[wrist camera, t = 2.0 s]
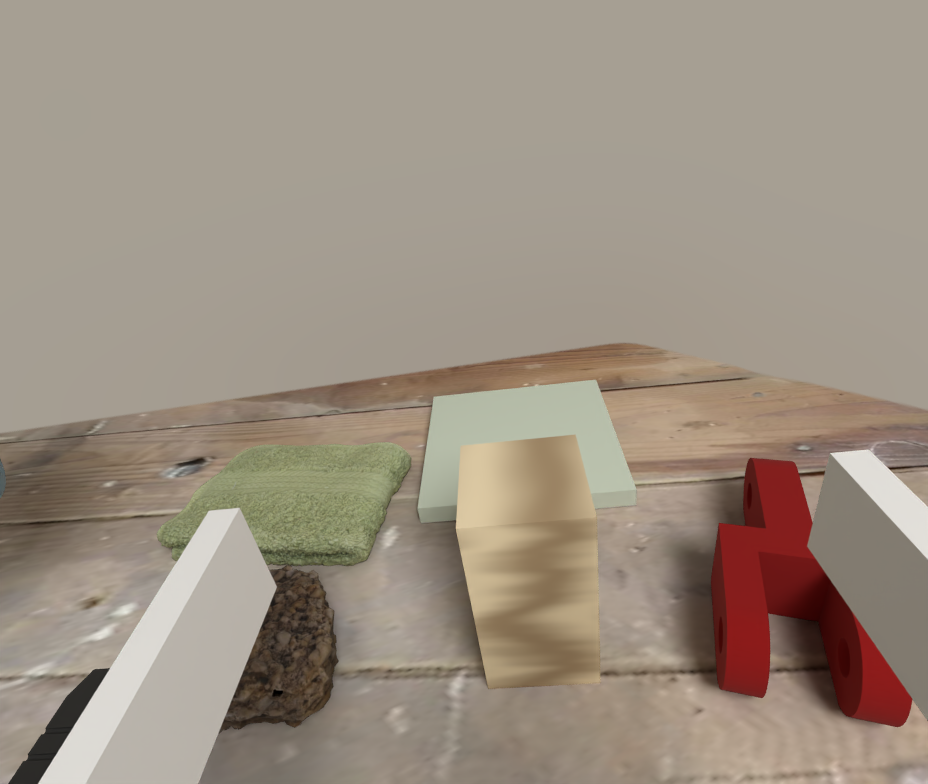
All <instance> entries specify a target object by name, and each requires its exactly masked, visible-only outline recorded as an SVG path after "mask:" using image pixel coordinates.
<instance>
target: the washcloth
mask: <svg viewBox="0 0 928 784" xmlns="http://www.w3.org/2000/svg"><path fill="white" fill-rule="evenodd" d="M410 467H411V457H410V455H409V454H408V453H407V452H406V451H405V450H404V449H403V448H402V447H401V446H399V445H397V444H393V443H390V442H387V443H385V442H383V443H371V444H365V445H354V446H351V445H341V444H330V445H311V446H292V445H259V446H255V447H252V448H249V449H247V450H245V451H243V452H241V453H239V454H238V455H237V456H235V457H234V458H233V459H232V460H231V461H230V462H229V463H228V465H227V466H226V467H225V468H224V469H223V470H222V471H221V472H220V473H219V474H217V475H216V476H214V477H213V478H211V479H210V480H208V481H207V482H206V483H205V484H203V485H202V486H201V487H200V488H199V489H198V490H196V491H195V493H194V494H193V496H192V498H191V500H190V502H189V503H188V504H187V506H186V507H185V508H184V509H183V510H182V511H181V512H180V513H179V514H178V515H177V516H175V517H174V518H173V519H171V520H169V521H167V522H166V523H165V524H163V525H162V526H161V527H160V529H159V530H158V532H157V538H158V540H159V541H160V542H161V544H162V545H161V546H166V547H167V548H168V547H173V548H172V558H173V559H174V560H175V561H178V559H179V558H180V556H181V555H182V553H183V551H184V550H185V548H186V547H187V545H188V543H189V542H190V540H191V539H192V537H193V535H194V534H195V532H196V531H197V529H198V527H199V526H200V524H201V523H202V521H203V519H204V518H205V516H206V515H207V513H208V511H211V510H222V509H233V508H240V510H241V512H242V514H243V516H244V518H245V520H246V522H247V524H248V527H249V529H250V531H251V533H252V535H253V537H254V539H255V541H256V544H257V546H258V548H259V550H260V552H261V554H262V556H263V559H264V561H265V563H266V565H269V564H270V563H272V564H273V565H276V564H278V565H284V564H289V565H293V566H298V565H301V566H303V565H321V564H323V565H324V566H332V565H337V564H339V565H341V564H342V565H344V566H352V565H354V564H356V563H358V562H362V561H364V560H366V559H368V556H369V553H370V551H371V548H372V546H373V544H374V541H375V538H376V533H377V532H378V531H379V528H380V526H381V524H382V523H383V521H384V520H385V515H386V514H387V513H386V508H387V506H388V504H389V502H390V500H391V496H392V495H393V494H394V493H395V492H397V491H398V488H399V487H401V484H400V483H401V482H402V479H403V478H404V476H405V475H406V474H407V473H408V472H407V471H408V470H409V469H410Z"/></svg>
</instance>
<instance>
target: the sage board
mask: <svg viewBox="0 0 928 784" xmlns="http://www.w3.org/2000/svg"><path fill="white" fill-rule="evenodd" d="M566 435H576V438H577V442H578V446H579V450H580V454H581V458H582V461H583V465H584V469H585V473H586V477H587V481H588V485H589V489H590V492H591V496H592V500H593V504H594V508H595V509H598V508H610V507H622V506H634V505H636V492H637V490H636V487H635V484H634V481H633V479H632V476H631V473H630V471H629V468H628V465H627V462H626V460H625V457H624V454H623V452H622V449H621V446H620V444H619V441H618V438H617V435H616V433H615V430H614V427H613V425H612V422H611V419H610V416H609V414H608V411H607V408H606V406H605V403H604V400H603V398H602V395H601V392H600V389H599V387H598V384H597V381H596V380H589V381H580V382H570V383H561V384H552V385H542V386H533V387H523V388H514V389H504V390H495V391H485V392H476V393H466V394H457V395H448V396H438V397H434V400H433V406H432V413H431V420H430V427H429V434H428V440H427V447H426V454H425V461H424V467H423V474H422V481H421V488H420V495H419V501H418V508H417V509H418V513H419V517H420V521H421V523H430V522H442V521H454V520H456V517H457V500H458V482H459V464H460V447H461V446H463V445H473V444H483V443H494V442H504V441H514V440H525V439H535V438H545V437H555V436H566Z"/></svg>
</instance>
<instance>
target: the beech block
mask: <svg viewBox="0 0 928 784" xmlns="http://www.w3.org/2000/svg"><path fill="white" fill-rule="evenodd" d="M456 532H457V537H458V542H459V547H460V552H461V557H462V562H463V567H464V572H465V576H466V581H467V586H468V591H469V596H470V601H471V606H472V611H473V616H474V621H475V626H476V631H477V635H478V640H479V645H480V650H481V655H482V660H483V665H484V670H485V675H486V680H487V685H488V689H496V688H515V687H534V686H553V685H572V684H591V683H600V641H599V593H598V545H597V516H596V512H595V508H594V504H593V500H592V496H591V492H590V489H589V485H588V481H587V477H586V473H585V469H584V465H583V461H582V458H581V454H580V450H579V446H578V442H577V438H576V435H566V436H555V437H545V438H535V439H525V440H514V441H504V442H494V443H483V444H473V445H463V446H461V447H460V464H459V482H458V500H457V517H456Z"/></svg>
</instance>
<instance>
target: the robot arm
mask: <svg viewBox="0 0 928 784" xmlns="http://www.w3.org/2000/svg"><path fill="white" fill-rule="evenodd" d="M5 486H6V478H5V472H4V468H3V465H2V462H1V459H0V498H1V497H2V495H3V493H4V490H5ZM807 547H808V548H809V550H810V551H811V553H812V554H813V555H814V557H815V558H816V560H817V561H818V563H819V564H820V566H821V567H822V569H823V570H824V571H825V573H826V574H827V576H828V577H829V579H830V580H831V582H832V583H833V584H834V586H835V587H836V589H837V590H838V592H839V593H840V595H841V596H842V597H843V599H844V600H845V602H846V603H847V605H848V606H849V608H850V609H851V611H852V612H853V613H854V615H855V616H856V618H857V619H858V621H859V622H860V624H861V625H862V626H863V628H864V629H865V631H866V632H867V634H868V635H869V637H870V638H871V640H872V641H873V642H874V644H875V645H876V647H877V648H878V650H879V651H880V653H881V654H882V655H883V657H884V658H885V660H886V661H887V663H888V664H889V666H890V667H891V669H892V670H893V671H894V673H895V674H896V676H897V677H898V679H899V680H900V682H901V683H902V684H903V686H904V687H905V689H906V690H907V692H908V693H909V695H910V696H911V698H912V699H913V700H914V702H915V703H916V705H917V706H918V708H919V709H920V711H921V712H922V713H923V715H924V716H925V718H926V719H927V721H928V507H927V506H926V505H925V504H924V503H923V502H922V501H921V500H920V499H919V498H918V497H917V496H916V495H915V494H914V493H913V492H912V491H911V490H910V489H909V488H908V487H907V486H906V485H905V484H904V483H902V482H901V481H900V480H899V479H898V478H897V477H896V476H895V475H894V474H893V473H892V472H891V471H890V470H889V469H888V468H887V467H886V466H885V465H884V464H883V463H882V462H881V461H880V460H879V459H878V458H877V457H876V456H875V455H874V454H873V453H872V452H871V451H869V450H859V451H849V452H838V453H830V455H829V459H828V463H827V468H826V472H825V476H824V480H823V484H822V488H821V492H820V496H819V500H818V504H817V508H816V512H815V516H814V520H813V524H812V528H811V532H810V537H809V541H808V545H807ZM276 588H277V586H276V584H275V582H274V580H273V578H272V576H271V573H270V571H269V569H268V567H267V565H266V563H265V561H264V559H263V556H262V554H261V552H260V550H259V548H258V546H257V544H256V541H255V539H254V537H253V535H252V533H251V531H250V529H249V527H248V524H247V522H246V520H245V518H244V516H243V514H242V512H241V510H240V508H233V509H222V510H211V511H208V513H207V515H206V516H205V518H204V519H203V521H202V523H201V524H200V526H199V527H198V529H197V531H196V532H195V534H194V535H193V537H192V539H191V540H190V542H189V543H188V545H187V547H186V548H185V550H184V551H183V553H182V555H181V556H180V558H179V559H178V561H177V563H176V564H175V566H174V567H173V569H172V571H171V572H170V574H169V575H168V577H167V578H166V580H165V582H164V583H163V585H162V586H161V588H160V590H159V591H158V593H157V594H156V596H155V598H154V599H153V601H152V602H151V604H150V606H149V607H148V609H147V610H146V612H145V614H144V615H143V617H142V618H141V620H140V622H139V623H138V625H137V626H136V628H135V630H134V631H133V633H132V634H131V636H130V638H129V639H128V641H127V642H126V644H125V646H124V647H123V649H122V650H121V652H120V654H119V655H118V657H117V658H116V660H115V662H114V663H113V665H112V666H111V668H108V669H94V670H93V671H92V672H91V673H90V674H89V675H88V676H87V677H86V678H85V679H84V680H83V681H82V682H81V683H80V684H79V685H78V686H77V687H76V688H75V689H74V690H73V691H72V692H71V693H70V694H69V695H68V696H67V697H66V698H65V700H64V701H63V703H62V704H61V706H60V707H59V709H58V710H57V712H56V713H55V715H54V716H53V718H52V719H51V721H50V722H49V724H48V725H47V727H46V732H45V733H44V734H41V736H40V737H39V739H38V740H37V742H36V743H35V745H34V746H33V748H32V749H31V751H30V752H29V754H28V759H27V760H26V761H23V763H22V764H21V766H20V767H19V769H18V770H17V772H16V773H15V775H14V776H13V778H12V779H11V781H10V782H9V784H198V783H199V780H200V778H201V775H202V773H203V770H204V768H205V765H206V763H207V761H208V758H209V756H210V753H211V751H212V748H213V746H214V743H215V741H216V738H217V736H218V733H219V731H220V728H221V726H222V723H223V721H224V718H225V716H226V713H227V711H228V708H229V706H230V703H231V701H232V698H233V696H234V693H235V691H236V688H237V686H238V683H239V681H240V678H241V676H242V673H243V671H244V668H245V666H246V663H247V661H248V658H249V656H250V653H251V651H252V648H253V646H254V643H255V641H256V638H257V636H258V633H259V631H260V628H261V626H262V623H263V621H264V618H265V616H266V613H267V611H268V608H269V606H270V603H271V601H272V598H273V596H274V593H275V591H276Z"/></svg>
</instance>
